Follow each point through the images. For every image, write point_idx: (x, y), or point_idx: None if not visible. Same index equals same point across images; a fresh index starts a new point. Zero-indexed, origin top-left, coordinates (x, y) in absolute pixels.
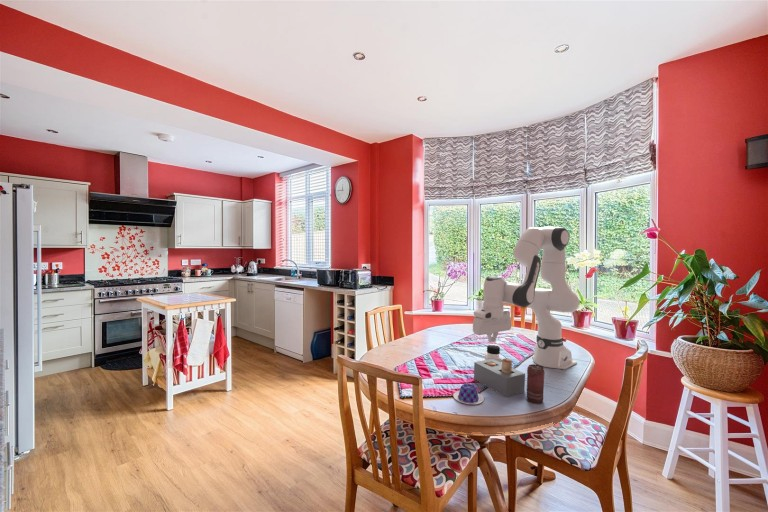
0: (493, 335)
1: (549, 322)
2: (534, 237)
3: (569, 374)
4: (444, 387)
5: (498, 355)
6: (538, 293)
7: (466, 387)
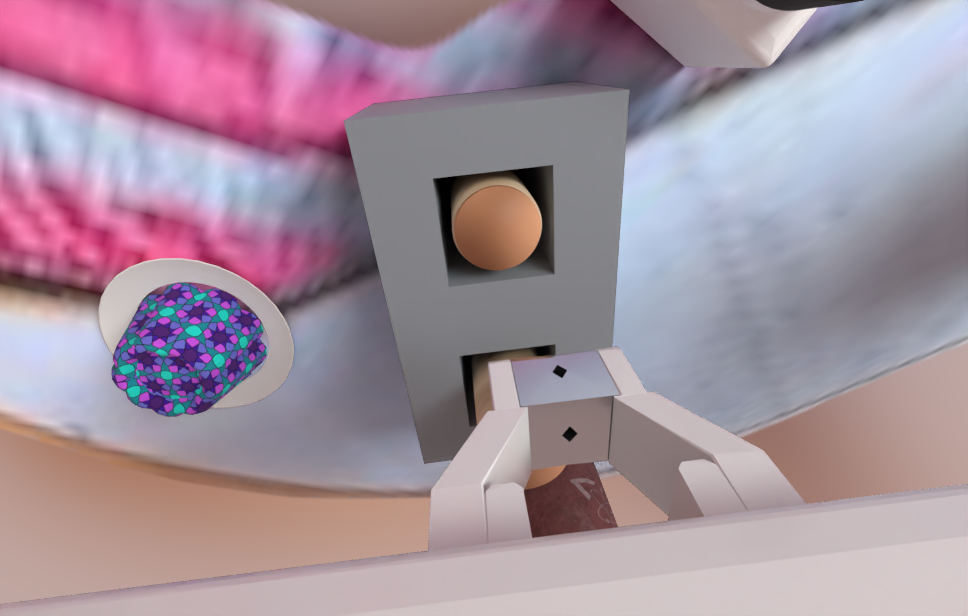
0: (650, 441)
1: None
2: None
3: None
4: (55, 161)
5: None
6: None
7: (151, 374)
